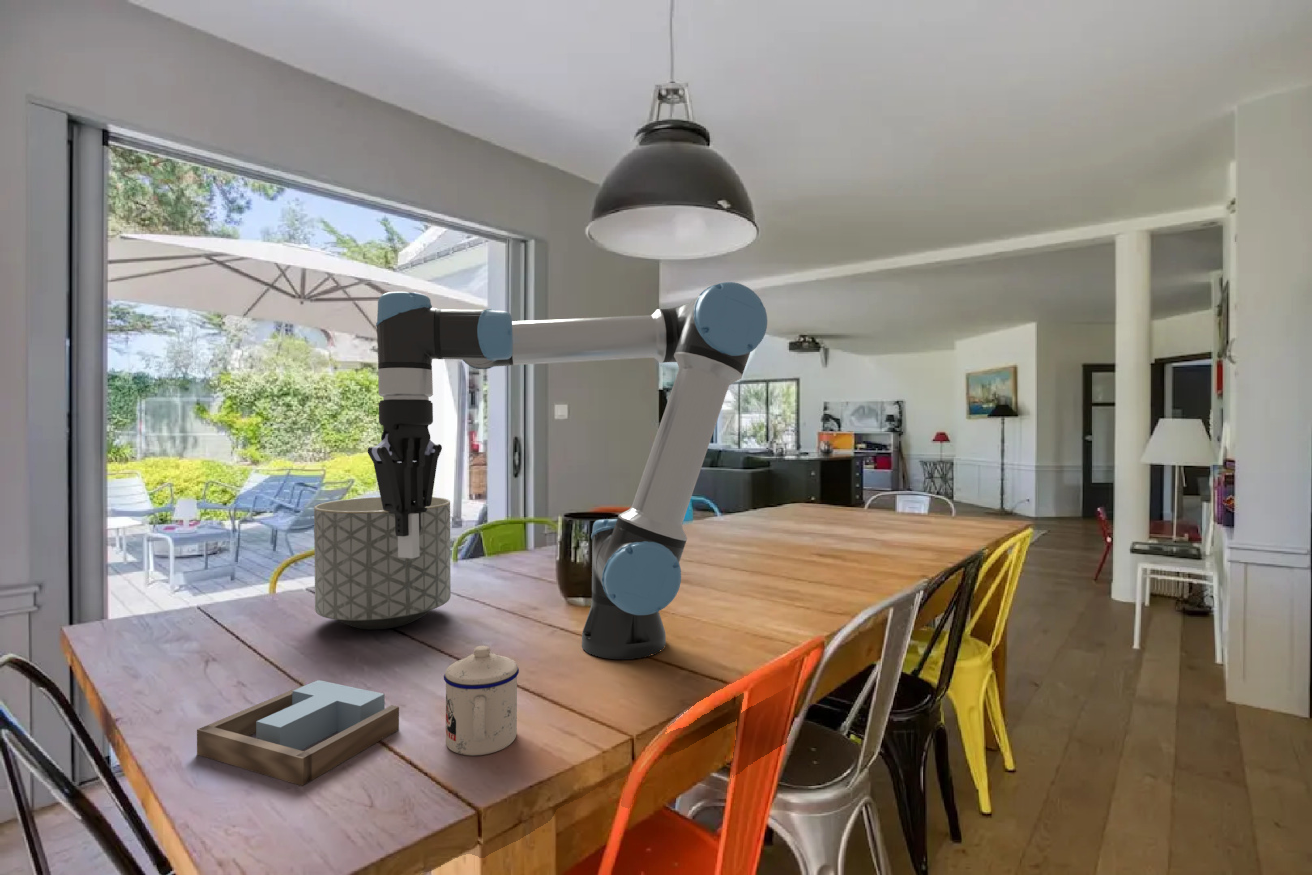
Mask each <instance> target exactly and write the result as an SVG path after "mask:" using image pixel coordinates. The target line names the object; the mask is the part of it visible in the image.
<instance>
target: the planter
mask: <svg viewBox="0 0 1312 875" xmlns="http://www.w3.org/2000/svg"><path fill="white" fill-rule="evenodd" d="M425 508H427V511H426V512H421V531H420V533H419V553H420V557H416V558H400V557H398V536H396V533H395V515H394V514H390V513H389V512H388V511H384V510H383V506H382V501H381V496H373V497H372V496H371V497H357V498H347V499H339V500H330V501H327V502H322V503H319V504H316V505H314V506H313V519H314V520H313V522H314V525H313V526H314V527H313V528H314V531H313V532H314V535H313V536H314V537H313V538H314V542H313V543H314V544H313V545H314V546H313V548H314V611H315V613H316V614H317V615H319V616H320V617H323V618H327V619H331V620H336V621H338V622H340V623H342V624H344V625H346V626H350V627H352V628H353V627H354V628H358V629H362V630H371V631H372V630H373V631H374V630H377V631H378V630H388V629H394V628H399V627H403V626H406V625H408V624H411V623H413V622H415V621H417V620H418V619H420V618H422V617H424V616H426V615H427V614H428V613H429V612H431V611H432V610H434V609H437V608H439V607H441V606H444V605H446V603H448V602H449V601H450V599H451V590H452V589H451V585H452V584H451V501H450V500H449V499H447V498H443V497H437V496H436V497H435V496H432V502H431V505H430V506H426V507H425Z"/></svg>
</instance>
